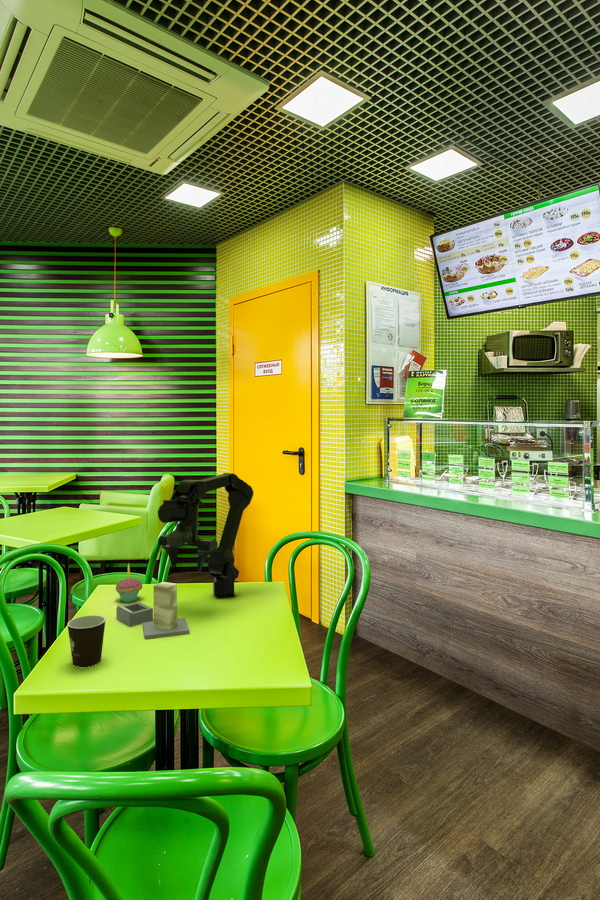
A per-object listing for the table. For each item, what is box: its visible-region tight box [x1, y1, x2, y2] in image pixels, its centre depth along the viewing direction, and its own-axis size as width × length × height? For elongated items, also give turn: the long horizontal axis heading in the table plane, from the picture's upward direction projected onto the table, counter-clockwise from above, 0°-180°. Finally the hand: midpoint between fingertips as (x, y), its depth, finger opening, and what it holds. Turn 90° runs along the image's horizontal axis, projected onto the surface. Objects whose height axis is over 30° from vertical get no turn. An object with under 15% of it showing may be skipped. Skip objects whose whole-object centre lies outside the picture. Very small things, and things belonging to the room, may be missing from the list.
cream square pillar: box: [153, 581, 178, 630], centre depth 147 cm, size 4×5×12 cm
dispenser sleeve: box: [115, 601, 154, 627], centre depth 155 cm, size 7×8×4 cm
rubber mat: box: [142, 617, 190, 640], centre depth 148 cm, size 12×10×1 cm
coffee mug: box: [67, 614, 106, 668], centre depth 128 cm, size 12×9×10 cm
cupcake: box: [115, 562, 143, 603], centre depth 172 cm, size 9×8×12 cm
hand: (186, 569), depth 163 cm, fingers open, 9 cm apart
